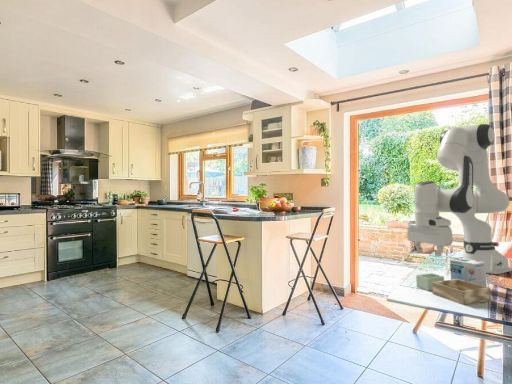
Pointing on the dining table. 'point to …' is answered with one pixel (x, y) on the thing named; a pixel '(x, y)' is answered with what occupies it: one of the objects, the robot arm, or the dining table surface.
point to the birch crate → (461, 291)
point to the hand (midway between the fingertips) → (428, 254)
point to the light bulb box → (468, 271)
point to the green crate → (428, 281)
